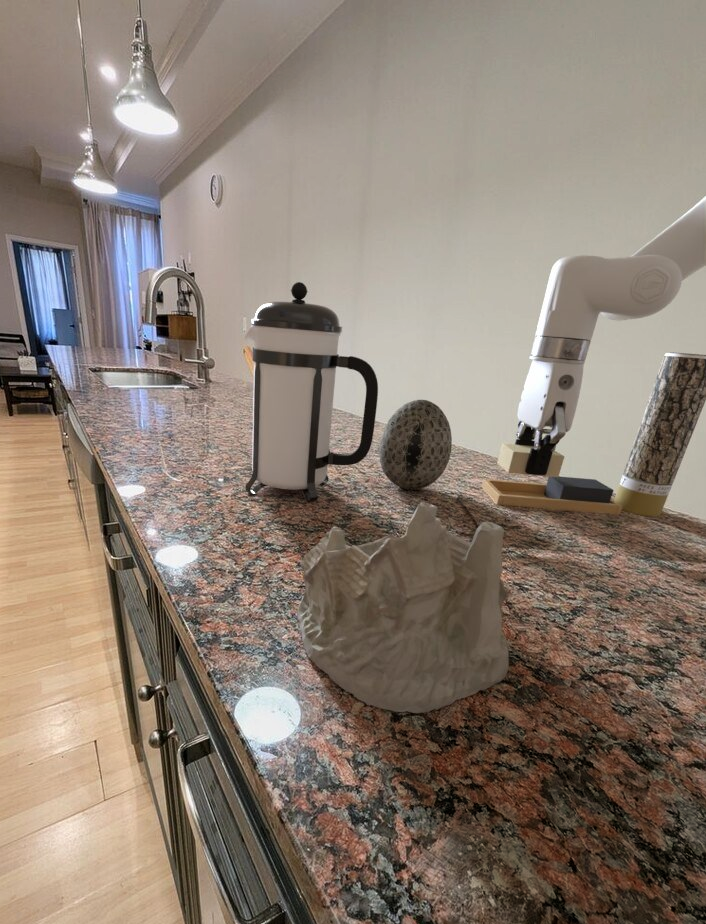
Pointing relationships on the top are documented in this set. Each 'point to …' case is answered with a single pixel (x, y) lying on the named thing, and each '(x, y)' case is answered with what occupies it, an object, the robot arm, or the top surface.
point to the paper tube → (663, 434)
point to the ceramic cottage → (407, 614)
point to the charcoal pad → (577, 489)
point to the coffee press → (300, 395)
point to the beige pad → (525, 460)
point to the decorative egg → (415, 445)
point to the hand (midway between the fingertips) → (527, 467)
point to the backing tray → (541, 498)
